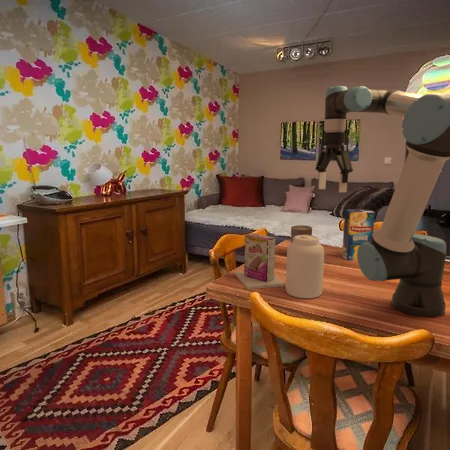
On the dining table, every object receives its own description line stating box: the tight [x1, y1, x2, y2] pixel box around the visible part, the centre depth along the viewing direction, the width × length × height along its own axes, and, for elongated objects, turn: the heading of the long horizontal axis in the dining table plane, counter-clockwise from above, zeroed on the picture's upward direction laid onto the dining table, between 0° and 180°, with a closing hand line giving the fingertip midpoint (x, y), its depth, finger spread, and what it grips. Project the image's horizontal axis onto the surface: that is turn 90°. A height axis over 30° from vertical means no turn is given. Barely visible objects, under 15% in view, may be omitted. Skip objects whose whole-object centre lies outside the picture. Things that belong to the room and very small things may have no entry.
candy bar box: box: [243, 232, 276, 282], centre depth 139 cm, size 11×5×16 cm, turn 47°
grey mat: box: [234, 270, 285, 290], centre depth 141 cm, size 17×14×1 cm
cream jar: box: [285, 234, 325, 299], centre depth 127 cm, size 12×12×20 cm
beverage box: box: [341, 209, 376, 262], centre depth 168 cm, size 7×11×22 cm, turn 91°
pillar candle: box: [290, 224, 313, 243], centre depth 172 cm, size 10×10×15 cm
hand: (331, 190), depth 138 cm, fingers open, 13 cm apart
